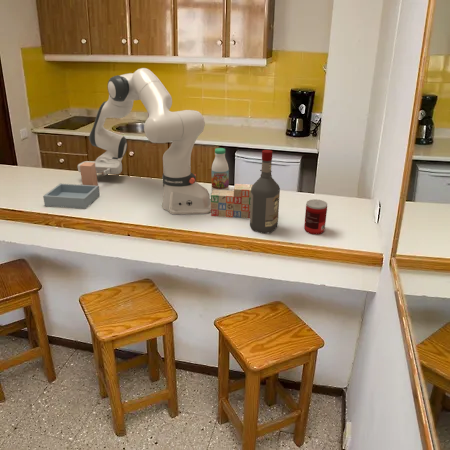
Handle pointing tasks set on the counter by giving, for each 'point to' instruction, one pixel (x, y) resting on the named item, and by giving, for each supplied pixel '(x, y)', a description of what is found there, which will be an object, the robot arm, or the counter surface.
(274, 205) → the liquor
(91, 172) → the terracotta block
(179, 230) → the counter surface
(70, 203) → the tray
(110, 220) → the counter surface
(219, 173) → the milk bottle
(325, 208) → the canned food
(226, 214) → the stack of blocks
